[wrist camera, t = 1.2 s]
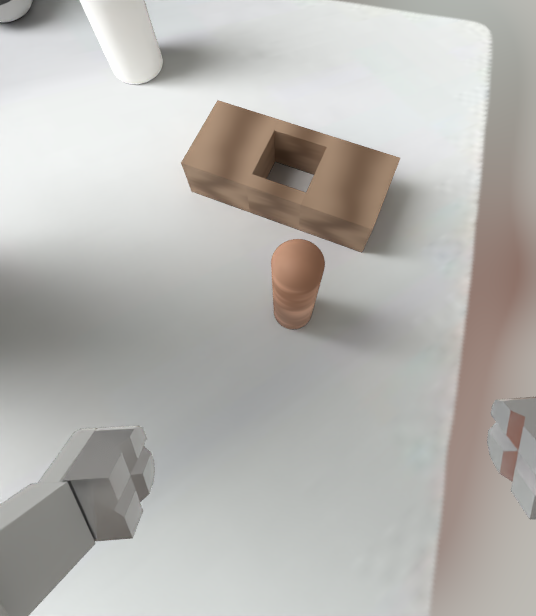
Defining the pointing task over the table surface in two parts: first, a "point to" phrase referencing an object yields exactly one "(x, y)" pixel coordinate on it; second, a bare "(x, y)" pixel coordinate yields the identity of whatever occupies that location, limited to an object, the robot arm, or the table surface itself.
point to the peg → (296, 281)
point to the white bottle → (126, 38)
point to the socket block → (298, 154)
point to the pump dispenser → (13, 9)
